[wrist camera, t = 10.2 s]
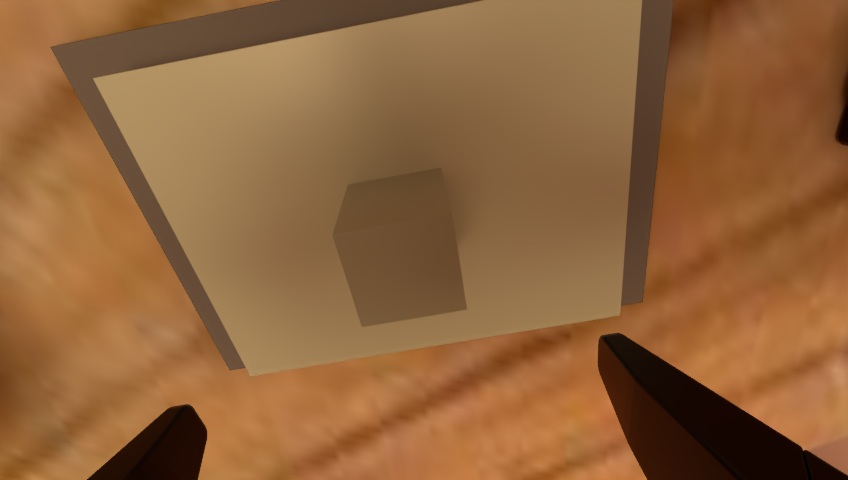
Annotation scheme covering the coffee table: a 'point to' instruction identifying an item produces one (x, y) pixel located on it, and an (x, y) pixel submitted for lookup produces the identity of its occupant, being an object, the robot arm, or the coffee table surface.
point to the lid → (398, 176)
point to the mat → (314, 13)
